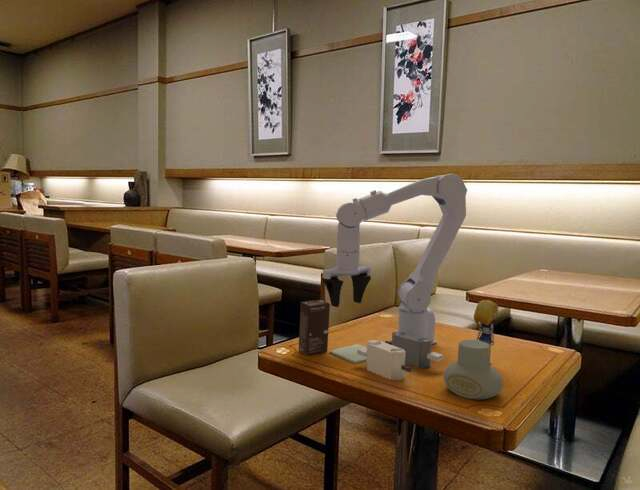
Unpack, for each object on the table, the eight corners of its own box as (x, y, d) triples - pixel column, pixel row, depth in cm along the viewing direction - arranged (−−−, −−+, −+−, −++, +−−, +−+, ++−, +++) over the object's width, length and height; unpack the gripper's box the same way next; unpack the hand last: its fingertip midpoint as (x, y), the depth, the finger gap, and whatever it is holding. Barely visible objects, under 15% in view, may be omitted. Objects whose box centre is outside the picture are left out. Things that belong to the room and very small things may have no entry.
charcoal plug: (380, 356, 113) (381, 331, 112) (389, 353, 116) (391, 328, 115) (435, 373, 103) (436, 346, 102) (443, 369, 106) (445, 342, 105)
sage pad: (357, 345, 120) (357, 343, 120) (383, 356, 113) (383, 353, 113) (329, 352, 115) (329, 350, 115) (355, 363, 108) (355, 361, 108)
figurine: (498, 365, 109) (502, 300, 107) (483, 370, 106) (487, 303, 104) (481, 359, 113) (485, 296, 111) (466, 363, 110) (470, 299, 108)
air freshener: (435, 392, 93) (438, 342, 92) (454, 380, 100) (456, 333, 98) (491, 410, 86) (495, 356, 85) (507, 395, 93) (511, 345, 92)
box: (308, 356, 112) (309, 305, 111) (298, 350, 116) (299, 301, 114) (329, 352, 115) (330, 302, 114) (319, 346, 119) (320, 299, 118)
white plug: (415, 382, 98) (416, 354, 97) (403, 386, 96) (404, 357, 95) (365, 362, 109) (366, 336, 108) (354, 365, 107) (355, 339, 106)
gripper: (358, 247, 128) (356, 297, 130) (315, 250, 119) (314, 304, 121) (377, 250, 123) (375, 303, 124) (333, 254, 114) (332, 310, 115)
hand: (346, 304), depth 122 cm, fingers open, 7 cm apart
